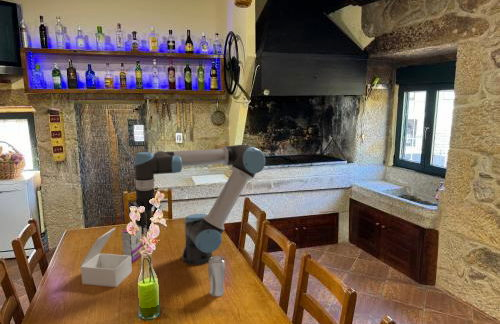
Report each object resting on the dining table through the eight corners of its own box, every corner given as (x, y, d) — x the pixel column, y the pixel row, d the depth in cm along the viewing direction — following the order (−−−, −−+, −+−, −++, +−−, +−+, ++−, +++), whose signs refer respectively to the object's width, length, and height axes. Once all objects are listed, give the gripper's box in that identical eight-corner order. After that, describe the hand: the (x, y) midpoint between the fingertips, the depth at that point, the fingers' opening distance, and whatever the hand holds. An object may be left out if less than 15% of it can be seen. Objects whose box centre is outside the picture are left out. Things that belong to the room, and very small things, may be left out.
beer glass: (206, 291, 147) (205, 257, 145) (221, 286, 151) (220, 254, 148) (212, 299, 141) (212, 264, 139) (228, 294, 145) (228, 261, 142)
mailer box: (131, 271, 163) (131, 255, 162) (116, 287, 150) (115, 269, 148) (100, 268, 166) (99, 253, 165) (82, 283, 152) (80, 266, 151)
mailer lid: (115, 228, 161) (114, 227, 161) (98, 239, 147) (96, 238, 147) (99, 253, 165) (98, 252, 165) (80, 266, 151) (79, 265, 151)
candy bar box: (134, 253, 183) (133, 223, 180) (143, 254, 182) (141, 224, 179) (123, 263, 172) (121, 231, 169) (132, 264, 171) (130, 232, 168)
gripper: (126, 189, 145) (128, 243, 149) (155, 191, 143) (157, 245, 147) (134, 185, 152) (137, 236, 156) (163, 187, 150) (164, 239, 154)
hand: (146, 241), depth 151 cm, fingers closed
